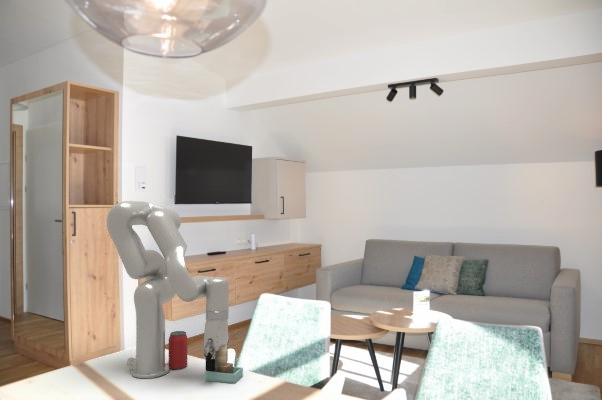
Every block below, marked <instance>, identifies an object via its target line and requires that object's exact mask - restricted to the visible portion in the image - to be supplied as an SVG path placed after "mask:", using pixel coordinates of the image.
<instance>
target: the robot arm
mask: <svg viewBox="0 0 602 400" xmlns="http://www.w3.org/2000/svg"><path fill="white" fill-rule="evenodd" d="M141 225H142V226H144V227H145V226H146V227H147V229H148V231H149V233H150V235H151V236H152V238H153V240H154V242H155V244H156V245H157V247H158V249H159V251H160V252H159V251H157V250H154V249H146V248H145V246H144V244H143V242H142V239H141V238H140V236H139V235H138V233H137V232H136V231H135V230H134V228H133V226H141ZM181 225H182V219H181V217H180V215H179V214H178V212H176V211H175V210H173V209H170V208H167V207H165V206H164V207H163V206H160V205H158V204H157V205H156V204H154V203H151V202H148V201H137V200H136V201H135V200H134V201H133V200H126V201H120V202H117V203H116V204H114V206H112V207H111V208H110V210H109V212H108V213H107V217H106V228H107V232H108V234H109V236H110V238H111V241H112V243H113V244H114V246H115V248H116V250H117V253H118V256H119V259H120V260H121V263H122V265H123V268H124V269H125V272H126V274H127V275H128V276H129V277H130V278H131V279H133V280H143V279H145V281H143V282H141V283H140V284H139V285H138V286H137V287H136V288H135V290H134V293H133V303H134V308H135V309H134V310H135V320H136V321H135V322H136V323H135V326H136V330H135V333H136V335H135V345H136V346H135V353H136V354H135V357H128V359H127V361H126V365H127V366H132V369H131V371H130V374H131V376H132V377H134V378H137V379H152V378H153V379H154V378H158V377H162V376H164V375H167V374H168V373H169V372H170V367H169V364H166V361H165V360H166V317H165V312H164V307H163V305H164V304H168V303H169V302H171V301H172V300H173V299H174V298H175V296H177V297H178V298H179V299H180V300H181V301H183V302H186V303H191V302H194V301H196V300H198V299H201V298H205V324H204V333H203V355H204V359H205V367H204V369H205V371H213V372H214V371H215V353H216V352H217V351H219V350H220V348H221V347H223V346H224V345H227V362H228V352H229V351H228V350H229V346H228V345H229V343H230V342H229V340H230V335H229V323H228V322H229V312H230V310H229V302H230V301H229V298H230V297H229V296H230V295H229V293H230V292H229V291H230V290H229V288H230V287H229V284H230V283H229V282H230V281H229V279H228V278H227V277H224V276H213V277H211V276H206V275H201V274H200V275H199V274H198V275H194V276H192V275H191V274H190V272H189V270H188V268H187V265H186V262H185V255H186V252H187V249H188V248H187V247H188V245H187V243H186V241H185V239H184V238H183V236H182V235H181V233H180V231H179V229H180V227H181Z"/></svg>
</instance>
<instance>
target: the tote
mask: <svg viewBox="0 0 602 400" xmlns="http://www.w3.org/2000/svg"><path fill="white" fill-rule="evenodd" d="M243 376H244V367H242V366H240V367H239V366H233V374H229V373H219V372H217V366H215V371H214V372H213V371H206V370H205V371H204V382H215V383H221V384H222V383H223V384H224V383H225V384H232V385H235V384H236V383H237V382H239V380H241V379H242V378H243Z"/></svg>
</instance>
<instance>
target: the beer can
mask: <svg viewBox="0 0 602 400" xmlns="http://www.w3.org/2000/svg"><path fill="white" fill-rule="evenodd" d="M188 342H189V341H188V336H187V332H186V331H184V330H183V331H182V330H180V331H179V330H176V331H172V332H170V333H169V337H168V366H169V369H172V370H181V369H185V368H186V367H187V366H188V350H189V349H188V347H189V345H188Z"/></svg>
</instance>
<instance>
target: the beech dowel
mask: <svg viewBox="0 0 602 400" xmlns="http://www.w3.org/2000/svg"><path fill="white" fill-rule="evenodd" d="M214 359H215V366H225V365H227V363H228V361H227V345H224V346H223V347H221V348H220V350H219V351H217V352H216V353H215V357H214Z"/></svg>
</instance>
